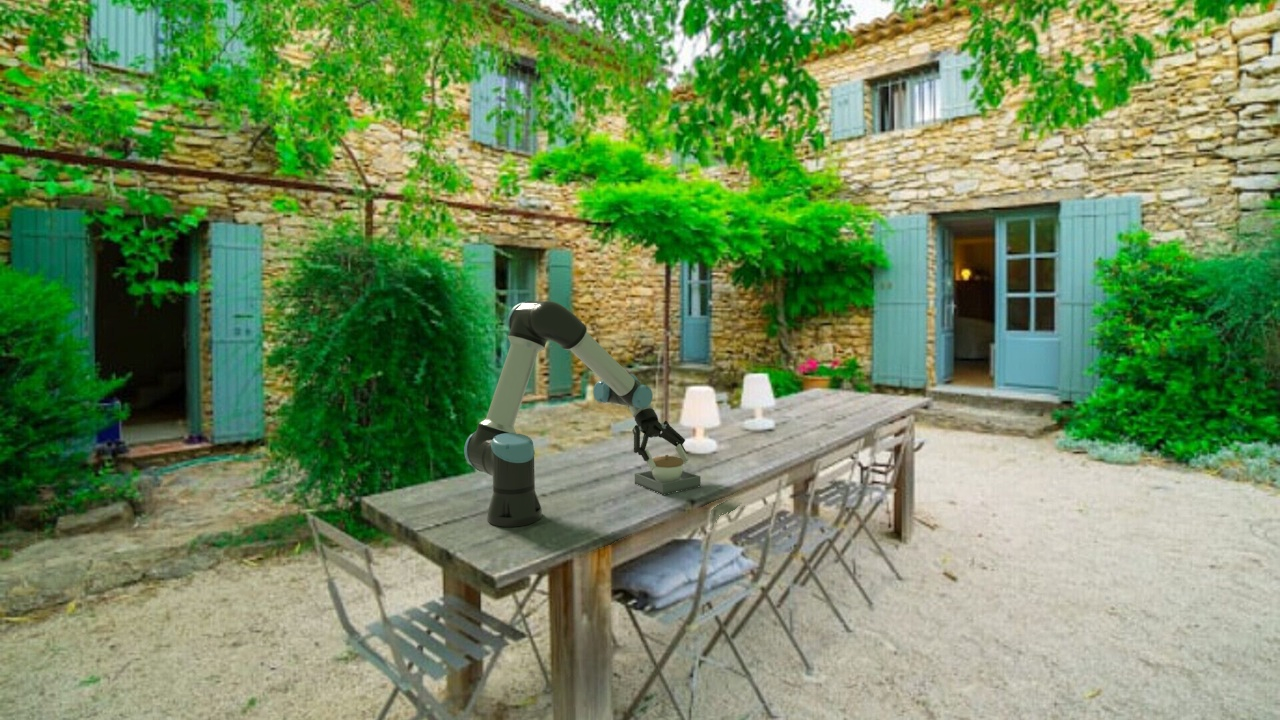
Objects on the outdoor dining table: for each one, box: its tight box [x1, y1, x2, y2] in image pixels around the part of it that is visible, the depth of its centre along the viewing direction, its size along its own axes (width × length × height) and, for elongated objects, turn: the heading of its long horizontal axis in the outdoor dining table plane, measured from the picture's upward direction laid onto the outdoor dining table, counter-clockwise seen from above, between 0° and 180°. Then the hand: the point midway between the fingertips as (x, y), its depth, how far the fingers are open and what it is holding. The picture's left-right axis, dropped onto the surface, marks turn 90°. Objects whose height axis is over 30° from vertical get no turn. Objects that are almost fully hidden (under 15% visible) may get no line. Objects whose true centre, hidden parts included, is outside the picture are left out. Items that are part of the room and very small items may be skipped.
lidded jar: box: [652, 454, 684, 484], centre depth 207 cm, size 11×11×9 cm
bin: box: [634, 470, 701, 496], centre depth 208 cm, size 16×16×4 cm
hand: (670, 465), depth 206 cm, fingers open, 13 cm apart
